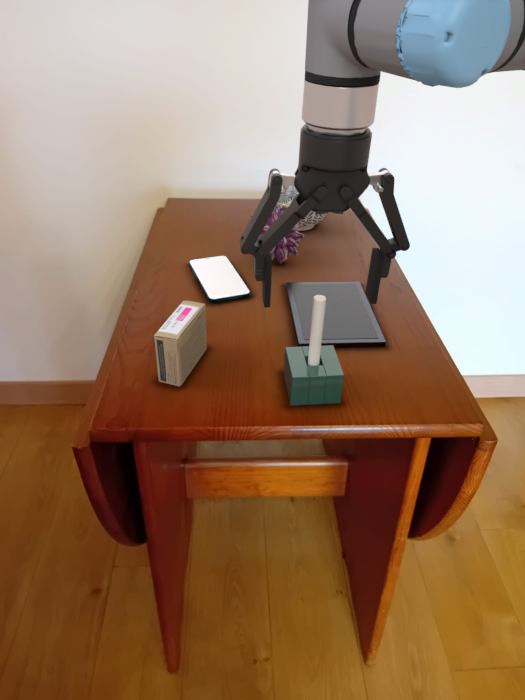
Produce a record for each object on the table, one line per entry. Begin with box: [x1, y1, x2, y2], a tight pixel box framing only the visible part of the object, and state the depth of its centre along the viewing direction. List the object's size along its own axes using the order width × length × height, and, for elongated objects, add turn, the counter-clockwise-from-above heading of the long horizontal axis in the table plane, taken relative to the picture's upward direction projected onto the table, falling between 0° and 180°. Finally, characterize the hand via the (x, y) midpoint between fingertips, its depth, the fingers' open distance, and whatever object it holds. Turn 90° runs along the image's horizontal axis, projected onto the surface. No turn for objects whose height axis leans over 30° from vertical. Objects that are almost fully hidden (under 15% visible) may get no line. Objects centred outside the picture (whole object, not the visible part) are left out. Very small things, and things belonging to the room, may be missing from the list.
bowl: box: [274, 185, 329, 232], centre depth 123 cm, size 16×16×8 cm
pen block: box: [283, 345, 345, 407], centre depth 76 cm, size 7×7×5 cm
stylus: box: [308, 295, 326, 366], centre depth 73 cm, size 2×2×15 cm
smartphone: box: [188, 255, 251, 304], centre depth 102 cm, size 8×1×16 cm
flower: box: [250, 205, 305, 264], centre depth 107 cm, size 12×12×12 cm
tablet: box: [285, 281, 387, 349], centre depth 93 cm, size 20×14×1 cm
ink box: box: [153, 300, 208, 388], centre depth 79 cm, size 10×4×8 cm, turn 162°
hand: (318, 300), depth 69 cm, fingers open, 13 cm apart
